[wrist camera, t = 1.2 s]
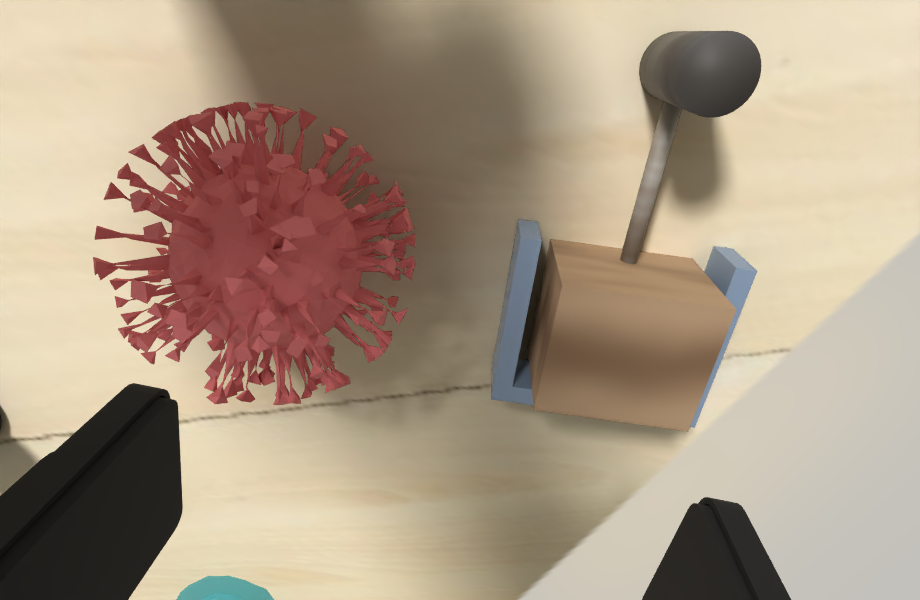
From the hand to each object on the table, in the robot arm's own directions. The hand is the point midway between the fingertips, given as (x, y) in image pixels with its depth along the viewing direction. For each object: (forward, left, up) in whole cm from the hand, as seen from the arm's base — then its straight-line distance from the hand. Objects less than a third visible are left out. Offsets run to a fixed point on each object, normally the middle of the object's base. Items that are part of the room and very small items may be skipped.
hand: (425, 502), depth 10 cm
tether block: (+6, +7, -25) cm, 27 cm away
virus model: (-3, -10, -26) cm, 28 cm away
